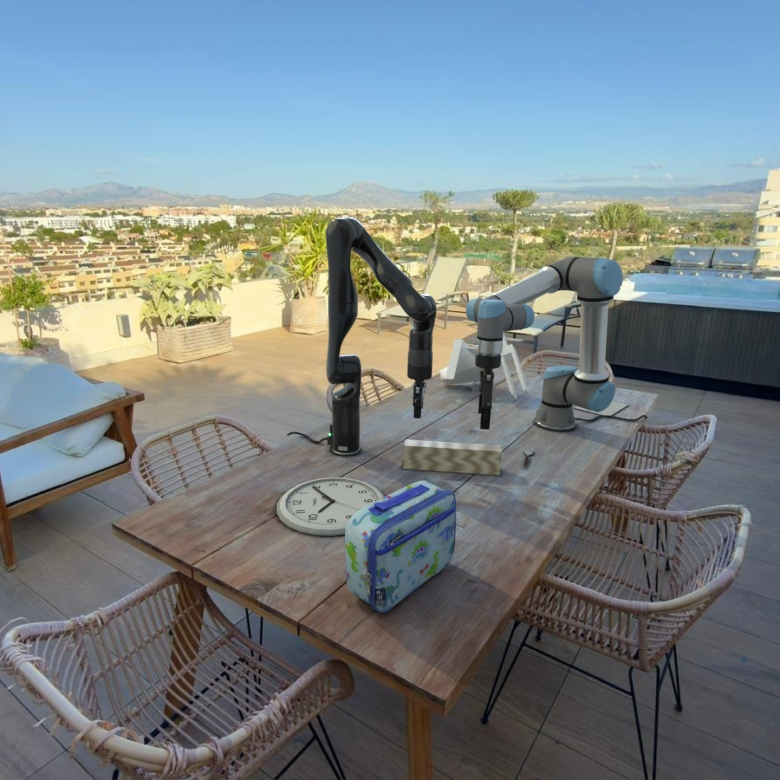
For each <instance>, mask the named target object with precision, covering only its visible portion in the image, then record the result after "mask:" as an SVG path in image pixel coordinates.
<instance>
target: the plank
mask: <svg viewBox="0 0 780 780" xmlns="http://www.w3.org/2000/svg"><path fill="white" fill-rule="evenodd" d="M502 453H503V451H502V445H500V444H486V443H469V442H455V441H454V442H453V441H437V440H421V439H404V444H403V466H402V467H403V468H402V469H404V470H415V471H416V470H417V471H429V472H430V471H432V472H444V473H445V472H447V473H460V474H476V475H489V476H501V465H502Z"/></svg>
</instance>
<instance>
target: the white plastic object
mask: <svg viewBox="0 0 780 780" xmlns="http://www.w3.org/2000/svg"><path fill="white" fill-rule="evenodd" d="M476 346H477V345H473V346H469V345H468V343H466V342H465V340H464V339H463V338H460V339H458V338H454V340H453V344H452V349H451V353H450V357H449V362H448V366H446V367H444V368H442V369H440V370H439V371H438V372H439V376H440V381H442V383H443V384H444V385H445V386H449V385H458V384H467V383H468V384H469V383H473V384H477V383H480V371H482V368H480V367H477V366H476V365H475V356H476V353H478V352H477V351H476ZM500 354H501V366H502V370H503V373H504V376H505V380H506V383H507V386H508V390H509V393H510V394H511V395H512V397H513V398H514V399H515V400H517V392H516V391H517V390H516V388H515V385H514V381H513V378H512V375H511V371H510V369H509V365H508V361H510V360H513V363H514V366H515V369H516V372H517V376H518V380H519V382H520V385H521V389H522V391H523V393H524V395H525V396H526V397H528V396H531V395H530V390H529V388H528V387H529V386H528V384H527V381H526V378H525V375H524V371H523V369H522V368H523V367H522V366H521V362H520V359H519V355H518V352H517V349H516V347H515V346H514V345H513V343H511V344H508V341H507V337H506V334H505V332H503V345H502V353H500ZM495 370H496V369H495V368H494V369H492V371H493V372H494V371H495Z"/></svg>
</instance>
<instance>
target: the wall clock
mask: <svg viewBox="0 0 780 780" xmlns="http://www.w3.org/2000/svg"><path fill="white" fill-rule="evenodd" d="M384 497H386V495H385V494H384V493H383V492H382V491H381V490H380V489H379V488H377V487H376V486H374V485H372V484H371V483H369V482H365V481H362V480H359V479H355V478H349V477H338V476H337V477H335V476H333V477H332V476H331V477H322V478H317V479H312V480H307V481H305V482H302V483H299V484H297V485H295V486H293V487H292V488H290V489H288V490H287V491H286V492H285V493H284V494H283V495H281V496H280V498H279V499H278V502H277V503H276V515H277V517H278V518H279V520H280V521H281V522H282V523H283V524H285V525H286V526H287V527H288V528H290V529H293V530H295V531H297V532H299V533H303V534H308V535H312V536H327V537H328V536H329V537H331V536H332V537H333V536H342V535H345V531H346V527H347V524H348V522H349V520H350V518H351V517H352V515H353V514H354V513H355V512H357V511H358V510H360V509H362V508H364V507H366V506H368V505H370V504H372V503H374V502H376V501H378V500H380V499H382V498H384Z"/></svg>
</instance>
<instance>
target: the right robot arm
mask: <svg viewBox="0 0 780 780" xmlns="http://www.w3.org/2000/svg"><path fill="white" fill-rule="evenodd" d="M623 281H624V276H623V270H622V267H621V265H620V264H619V263H618V262H617V261H616V260H614V259H612V258H611V259H610V258H605V257H590V256H589V257H588V256H587V257H586V256H569V257H566V258H562V259H559V260H557V261H554V262H551V263H549V264H547V265H545V266H543V267H541V268H540V269H539V270H538V272H537V273H535V274H533V275H530V276H529V277H527V278H524V279H523V280H521V281H519V282H516V283H515V284H512V285H510V286H508V287H505V288H504V289H502V290H500V291H498V292H496V293H494V294H491V295H489V296H487V297H485V298H480V297H479V298H471V299H470V300H469V301H468V302H467V304H466V306H465V315H466V318H467V319H468V321H471V322H474V323H476V324H477V325H476V326H477V328H476V332H477V333H476V341H474V343H473V344H474V346H476V351H477V352H478V353H476V356H475V365H476V366H477V367H480V368H482V371H480V382H479V391H478V392H479V396H478V408H477V414H480V423H479V430H490V429H491V428H490V427H491V415H492V409H493V387H494V379H495V373H494V370H496V369H499V368H500V367H501V366H502V363H501V354H500V353H502V348H503V332H504V333H505V332H513V331H522V330H525V329H529V328H530V327H531V326H532V325H533V324H534V322H535V317H536V316H535V315H536V314H535V310H534V309H533V307H531V305H529V303H531V302H532V301H534V300H536V299H539V298H541V297H542V296H544V295H547V294H555V293H557V292H560V291H562V292H563V291H567V292H575V293H576V301H577V302H578V303H579V304H580V305H581V306H580V327H579V328H580V329H579V330H580V331H579V332H580V333H579V355H578V356H579V357H578V358H579V360H578V368H577V367H576V366H571V365H570V366H569V365H557V366H556V365H555V366H550V367H547V368H546V369H545V371H544V375H543V378H542V379H543V381H542V382H543V383H542V394H541V402H540V405H539V407H538V409H537V410H536V413H535V417H534V424H535V425H536V426H537V427H539V428H542V429H544V430H549V431H556V432H567V431H572V430H574V429H575V428H576V421H581V422H582V421H583V422H594V421H595V420H597V419H599V418H610V419H611V418H612V419H616V420H620V421H621V420H622V421H627V422H636V421H637V422H638V421H640V420H641V419H642V418H645V419H648V418H649V417H648V415H645V414H641V415H640V416H639V417H637V418H624V417H619V416H616V415H611V416H609V415H600V414H599V415H597V416H595V417H593V418H591V419H585V418H580V417H576V416H575V413H574V407H576V406H578V407H581V408H584V409H587V410H589V411H595V412H601V411H603V410H605V409H606V408H607V407H608V406H609V405H610V403H611V402H612V401H614V398H615V395H616V385H615V383H614V382H612V381H610V373H609V371H607V370H606V355H607V353H606V352H607V336H608V335H607V334H608V317H609V316H608V315H609V304H610V303H611V302H613V300H614V298H615V296H616V295H618V293H619V292H620V291H621V287H622V286H623ZM494 368H495V369H494ZM492 369H494V370H493V371H492ZM573 406H574V407H573Z"/></svg>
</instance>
